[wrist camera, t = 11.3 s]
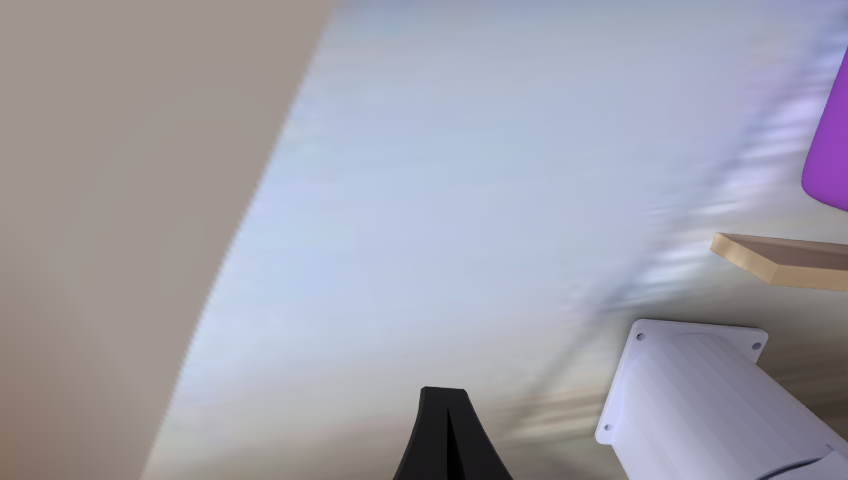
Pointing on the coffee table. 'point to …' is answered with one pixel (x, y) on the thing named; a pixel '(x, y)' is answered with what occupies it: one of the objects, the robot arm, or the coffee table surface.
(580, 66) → the coffee table surface
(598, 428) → the robot arm
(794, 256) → the wooden tray
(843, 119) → the toy camera
